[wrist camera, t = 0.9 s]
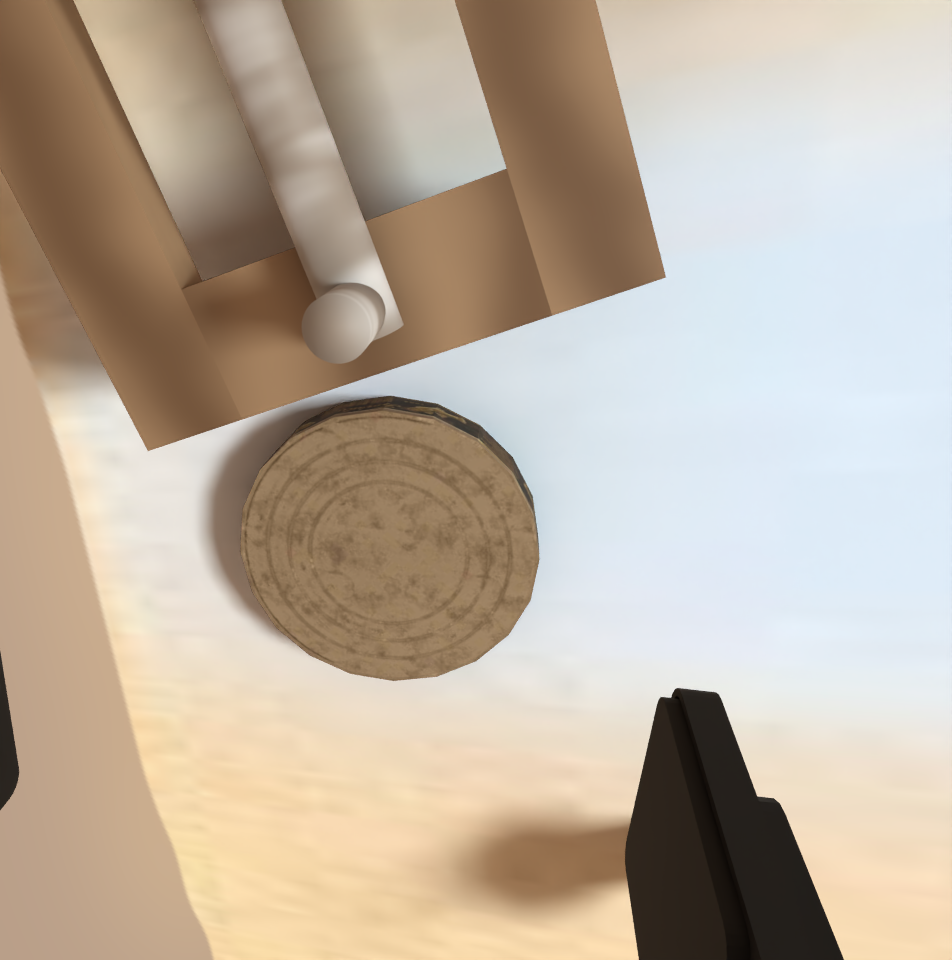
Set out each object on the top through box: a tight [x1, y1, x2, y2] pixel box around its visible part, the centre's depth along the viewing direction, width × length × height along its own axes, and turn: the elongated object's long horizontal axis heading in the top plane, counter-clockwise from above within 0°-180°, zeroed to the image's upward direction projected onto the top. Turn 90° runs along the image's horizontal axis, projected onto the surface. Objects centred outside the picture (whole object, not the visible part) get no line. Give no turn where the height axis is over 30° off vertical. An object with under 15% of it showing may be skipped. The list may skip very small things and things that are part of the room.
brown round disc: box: [240, 396, 539, 681], centre depth 43 cm, size 16×16×3 cm
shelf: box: [0, 0, 666, 451], centre depth 28 cm, size 20×24×17 cm
